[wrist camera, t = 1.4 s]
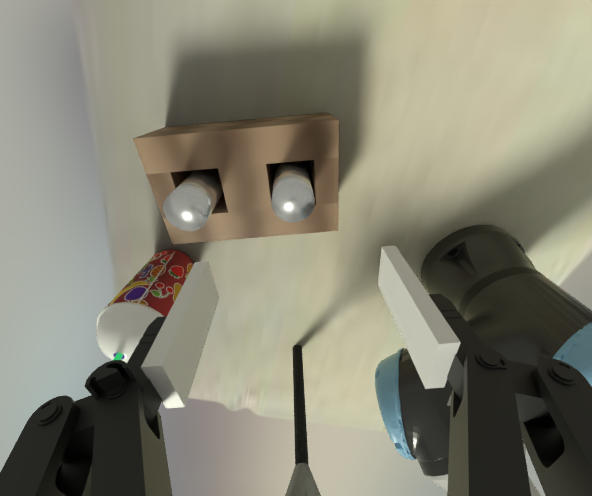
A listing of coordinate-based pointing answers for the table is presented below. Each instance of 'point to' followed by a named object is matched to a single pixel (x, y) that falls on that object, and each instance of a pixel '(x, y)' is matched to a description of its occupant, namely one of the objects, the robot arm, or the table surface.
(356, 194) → the table surface
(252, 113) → the table surface
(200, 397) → the table surface
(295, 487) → the solar garden light
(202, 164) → the block
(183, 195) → the peg
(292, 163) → the peg
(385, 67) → the table surface
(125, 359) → the smoothie
